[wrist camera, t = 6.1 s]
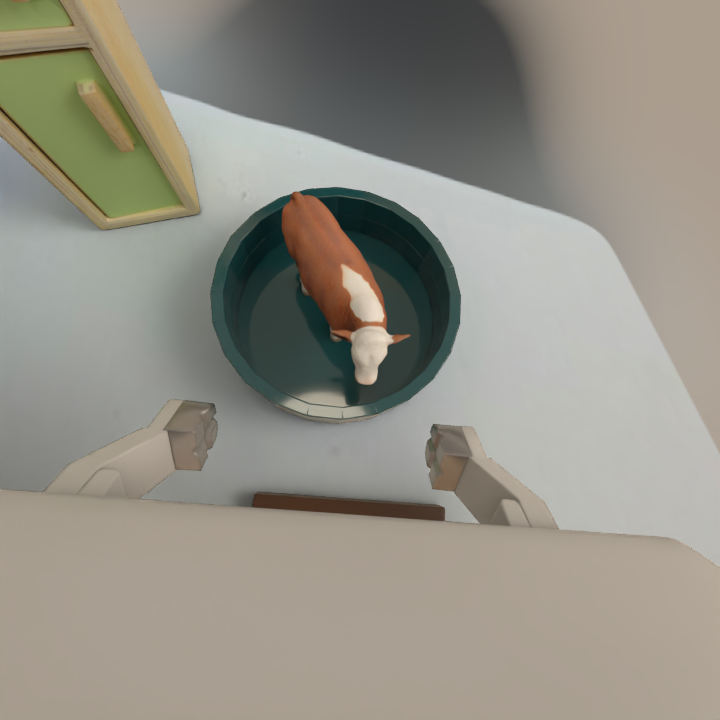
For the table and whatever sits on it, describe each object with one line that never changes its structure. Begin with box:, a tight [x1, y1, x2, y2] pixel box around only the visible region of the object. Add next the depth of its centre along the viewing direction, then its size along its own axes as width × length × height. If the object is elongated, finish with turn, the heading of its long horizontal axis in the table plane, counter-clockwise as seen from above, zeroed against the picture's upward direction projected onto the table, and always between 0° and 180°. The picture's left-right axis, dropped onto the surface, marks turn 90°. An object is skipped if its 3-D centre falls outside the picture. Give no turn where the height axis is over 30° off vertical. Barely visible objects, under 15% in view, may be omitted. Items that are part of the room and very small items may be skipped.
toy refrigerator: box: [0, 0, 200, 230], centre depth 18 cm, size 8×7×21 cm
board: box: [252, 492, 445, 521], centre depth 21 cm, size 20×13×1 cm, turn 175°
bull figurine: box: [282, 192, 410, 385], centre depth 23 cm, size 4×13×8 cm, turn 24°
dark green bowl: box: [210, 187, 461, 424], centre depth 25 cm, size 17×17×4 cm
